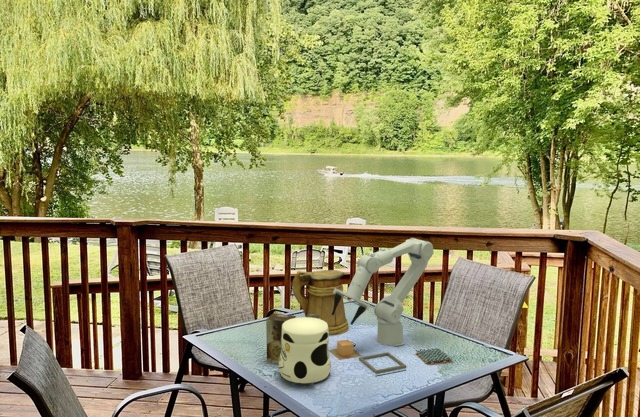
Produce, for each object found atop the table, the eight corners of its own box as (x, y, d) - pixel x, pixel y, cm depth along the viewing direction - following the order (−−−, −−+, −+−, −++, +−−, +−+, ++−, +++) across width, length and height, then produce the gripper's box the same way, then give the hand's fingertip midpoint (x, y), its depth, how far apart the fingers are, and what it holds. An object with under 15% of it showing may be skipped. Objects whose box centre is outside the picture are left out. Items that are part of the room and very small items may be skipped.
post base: (350, 349, 193) (350, 339, 193) (361, 358, 185) (361, 348, 185) (328, 352, 190) (328, 343, 189) (339, 362, 182) (339, 352, 181)
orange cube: (347, 349, 190) (348, 339, 190) (353, 354, 186) (353, 344, 186) (336, 351, 189) (337, 341, 188) (342, 356, 184) (342, 345, 184)
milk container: (268, 374, 172) (268, 322, 170) (310, 361, 183) (310, 312, 180) (298, 394, 158) (298, 339, 156) (341, 379, 169) (342, 327, 167)
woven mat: (427, 367, 180) (427, 361, 180) (413, 355, 190) (414, 349, 190) (453, 364, 183) (453, 358, 183) (439, 352, 193) (439, 347, 193)
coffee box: (296, 358, 184) (296, 315, 182) (289, 366, 178) (289, 321, 176) (273, 355, 187) (273, 312, 185) (265, 362, 181) (265, 318, 179)
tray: (387, 357, 187) (388, 352, 187) (406, 370, 176) (406, 365, 176) (358, 362, 182) (358, 357, 182) (375, 376, 171) (375, 371, 171)
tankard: (351, 337, 205) (352, 277, 201) (292, 338, 203) (292, 277, 200) (345, 321, 223) (346, 265, 219) (291, 322, 221) (291, 266, 218)
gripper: (340, 276, 185) (323, 311, 183) (376, 294, 184) (360, 329, 182) (339, 277, 192) (323, 310, 190) (374, 294, 191) (359, 328, 189)
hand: (341, 319), depth 186 cm, fingers open, 7 cm apart
